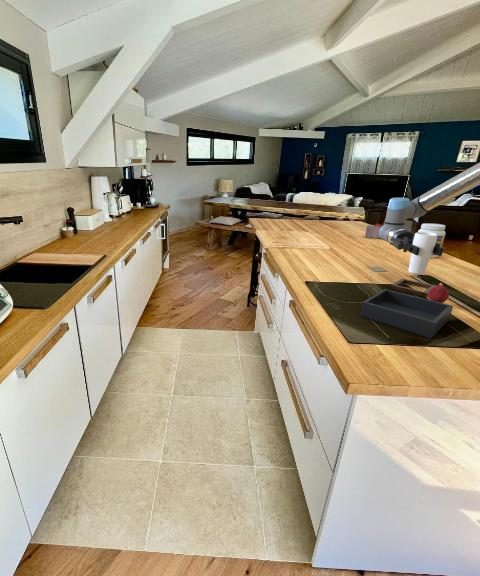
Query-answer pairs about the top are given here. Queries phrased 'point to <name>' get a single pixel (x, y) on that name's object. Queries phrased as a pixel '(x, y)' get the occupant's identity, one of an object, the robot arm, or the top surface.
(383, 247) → the top surface
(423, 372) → the top surface
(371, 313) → the dark grey tray
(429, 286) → the small square dish
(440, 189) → the robot arm
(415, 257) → the drinking glass
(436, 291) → the onion
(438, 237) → the supplement tub
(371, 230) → the food item
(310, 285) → the top surface
